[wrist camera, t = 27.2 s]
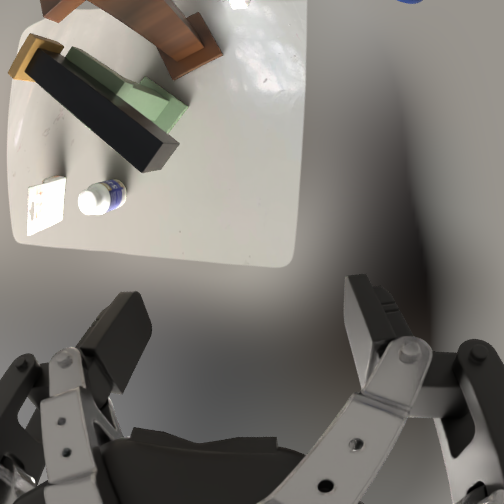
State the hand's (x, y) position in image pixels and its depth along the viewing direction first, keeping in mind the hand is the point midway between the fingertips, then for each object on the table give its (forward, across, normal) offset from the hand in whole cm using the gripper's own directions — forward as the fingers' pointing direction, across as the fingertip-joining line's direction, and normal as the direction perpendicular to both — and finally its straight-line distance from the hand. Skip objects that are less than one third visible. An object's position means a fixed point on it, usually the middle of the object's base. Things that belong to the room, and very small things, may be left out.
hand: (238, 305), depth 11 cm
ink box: (+38, +41, -1) cm, 56 cm away
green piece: (+38, +16, -13) cm, 44 cm away
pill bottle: (+37, +27, +1) cm, 46 cm away
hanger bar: (+17, +15, -13) cm, 26 cm away
